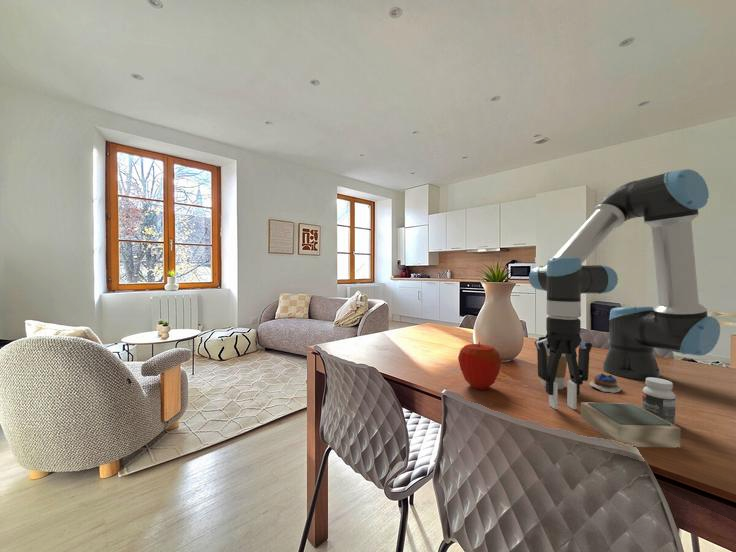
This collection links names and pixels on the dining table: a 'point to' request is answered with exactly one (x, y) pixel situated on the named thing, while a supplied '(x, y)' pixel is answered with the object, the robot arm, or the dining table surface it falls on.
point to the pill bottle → (659, 399)
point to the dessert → (605, 383)
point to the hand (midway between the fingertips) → (562, 406)
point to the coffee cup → (560, 370)
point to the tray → (630, 424)
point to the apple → (479, 365)
